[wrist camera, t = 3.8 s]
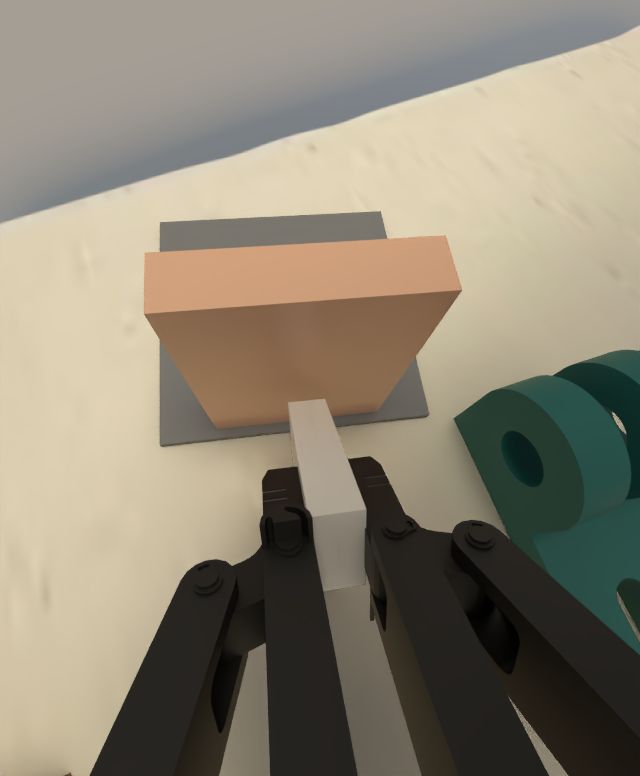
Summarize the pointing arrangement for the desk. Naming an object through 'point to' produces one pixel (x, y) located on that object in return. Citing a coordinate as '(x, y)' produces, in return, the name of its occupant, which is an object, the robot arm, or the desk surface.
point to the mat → (177, 400)
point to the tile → (297, 321)
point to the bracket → (570, 477)
